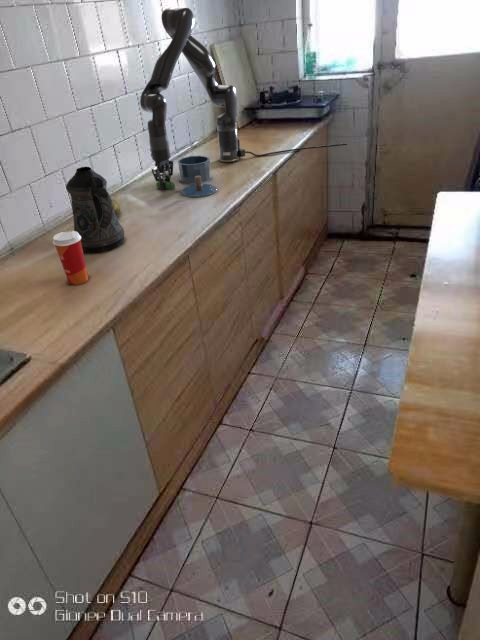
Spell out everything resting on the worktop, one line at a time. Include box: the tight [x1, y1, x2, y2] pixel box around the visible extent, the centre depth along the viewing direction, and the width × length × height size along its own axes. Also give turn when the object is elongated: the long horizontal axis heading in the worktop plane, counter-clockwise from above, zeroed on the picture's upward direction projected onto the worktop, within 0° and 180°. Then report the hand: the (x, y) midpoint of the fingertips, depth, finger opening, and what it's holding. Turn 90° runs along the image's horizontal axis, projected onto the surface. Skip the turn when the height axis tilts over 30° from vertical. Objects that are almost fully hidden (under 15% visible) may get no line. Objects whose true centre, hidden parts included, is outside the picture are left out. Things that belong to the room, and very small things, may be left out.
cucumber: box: [155, 181, 176, 191], centre depth 201 cm, size 9×3×3 cm, turn 66°
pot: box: [177, 155, 212, 184], centre depth 208 cm, size 14×14×8 cm
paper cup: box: [52, 230, 89, 286], centre depth 135 cm, size 8×8×14 cm
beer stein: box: [65, 166, 125, 255], centre depth 152 cm, size 16×19×25 cm
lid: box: [181, 176, 218, 198], centre depth 194 cm, size 15×15×7 cm
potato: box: [112, 199, 121, 216], centre depth 178 cm, size 8×13×8 cm, turn 161°
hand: (166, 188), depth 202 cm, fingers closed on cucumber, 3 cm apart
